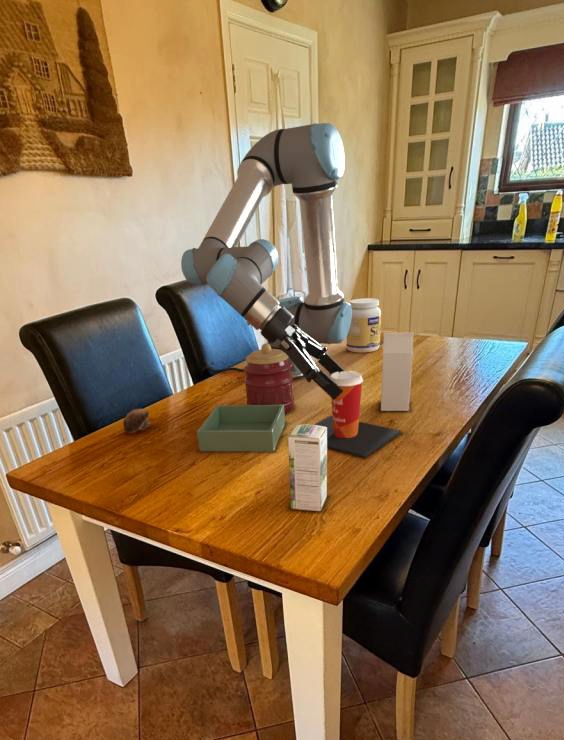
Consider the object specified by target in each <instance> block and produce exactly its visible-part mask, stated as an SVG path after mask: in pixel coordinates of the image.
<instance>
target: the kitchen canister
mask: <svg viewBox="0 0 564 740" xmlns="http://www.w3.org/2000/svg"><path fill="white" fill-rule="evenodd" d="M260 348H261V349H257V350H254V351H252V352H250V353H249V355H247V356H246V357H245V362H247V363H246V364H245V365H244V366H243V367H242V369H243V370H244V371H245V372H244V373H245V378H244V385H245V394H246V405H284V412H285V414H288V413H290V412H291V411H293V410H294V405H295V398H294V388H293V380H292V379H293V376H292V375H291V371H290V369H291V367H292V363H291V362H289V361H288V360H287V359H288V356H287V354H286V353H284V352H283V351H282V350H279V349H271V346H270V344H268V343H267V342H265V343H263V344H262V345H261V347H260Z"/></svg>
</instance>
